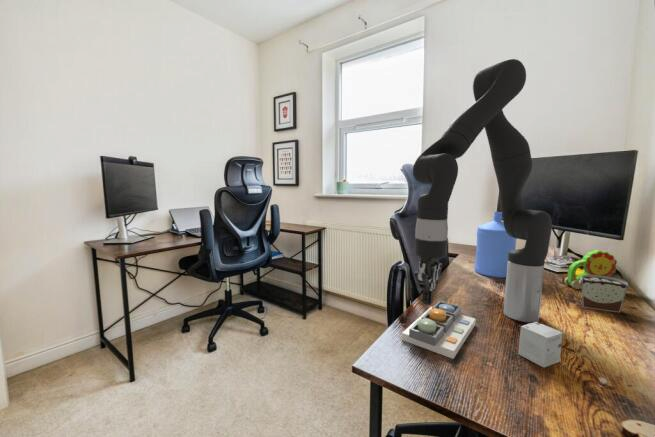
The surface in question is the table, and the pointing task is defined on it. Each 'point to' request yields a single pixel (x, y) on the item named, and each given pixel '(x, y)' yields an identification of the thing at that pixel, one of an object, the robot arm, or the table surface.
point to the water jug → (493, 248)
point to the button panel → (442, 332)
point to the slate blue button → (447, 308)
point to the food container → (603, 292)
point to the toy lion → (591, 267)
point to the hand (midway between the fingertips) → (427, 303)
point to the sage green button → (427, 326)
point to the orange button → (437, 315)
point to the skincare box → (540, 344)
